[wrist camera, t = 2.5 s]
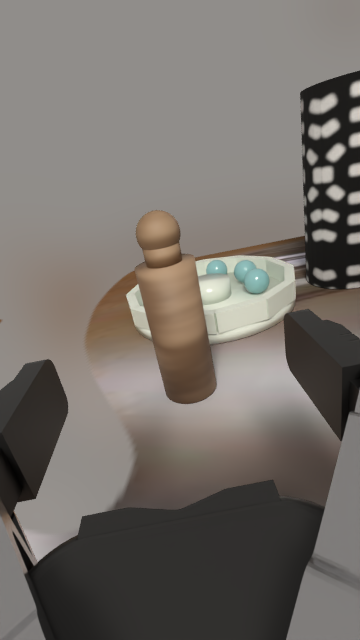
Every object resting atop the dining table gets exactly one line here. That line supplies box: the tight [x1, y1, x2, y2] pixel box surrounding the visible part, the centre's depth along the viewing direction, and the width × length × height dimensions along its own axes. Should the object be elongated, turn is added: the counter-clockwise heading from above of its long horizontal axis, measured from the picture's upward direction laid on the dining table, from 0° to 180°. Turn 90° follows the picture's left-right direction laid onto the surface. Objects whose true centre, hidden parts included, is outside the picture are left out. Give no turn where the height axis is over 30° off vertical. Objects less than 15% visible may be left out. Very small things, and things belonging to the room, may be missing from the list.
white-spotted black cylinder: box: [300, 71, 360, 289], centre depth 36 cm, size 8×8×20 cm
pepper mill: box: [135, 210, 216, 404], centre depth 23 cm, size 4×4×13 cm
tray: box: [126, 256, 296, 345], centre depth 39 cm, size 19×19×4 cm
